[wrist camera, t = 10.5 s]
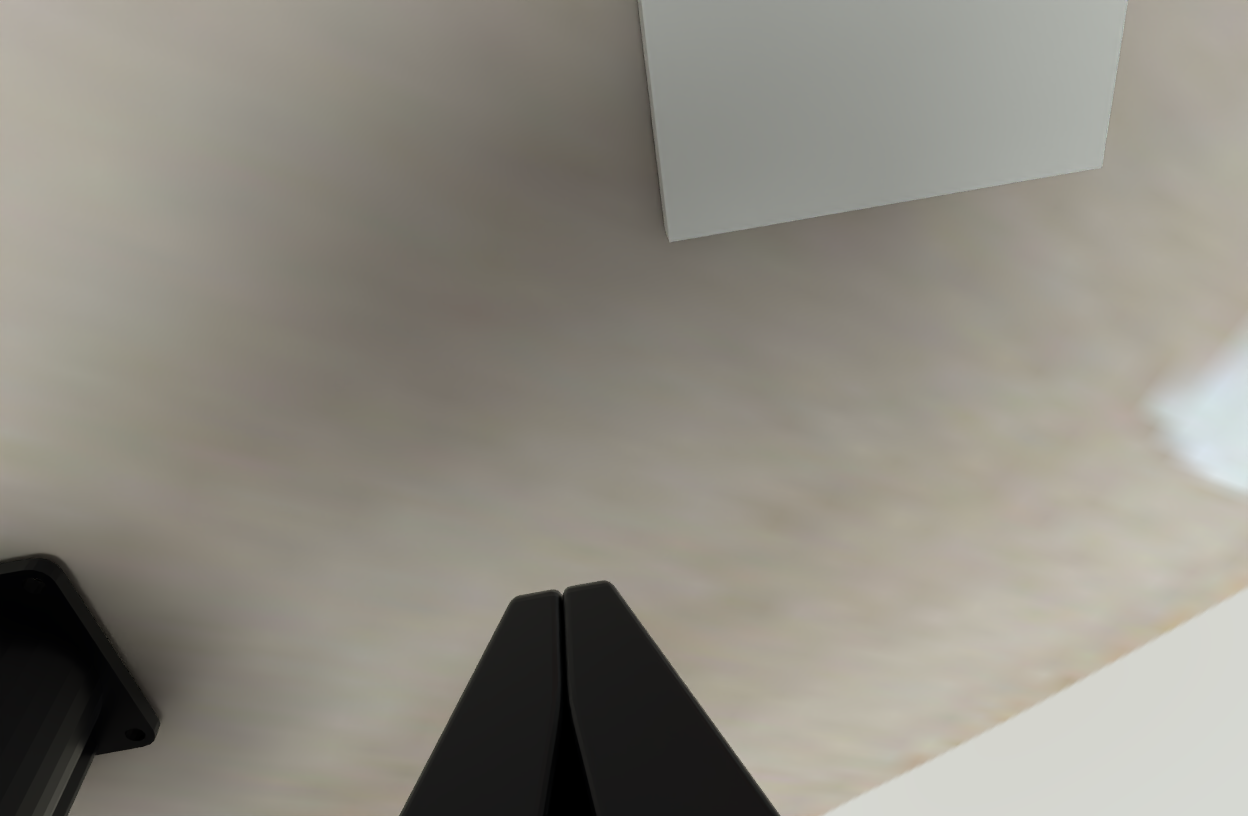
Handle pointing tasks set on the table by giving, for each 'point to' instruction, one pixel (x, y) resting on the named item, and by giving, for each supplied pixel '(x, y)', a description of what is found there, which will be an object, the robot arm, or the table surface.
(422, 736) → the table surface
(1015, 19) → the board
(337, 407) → the table surface
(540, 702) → the robot arm
